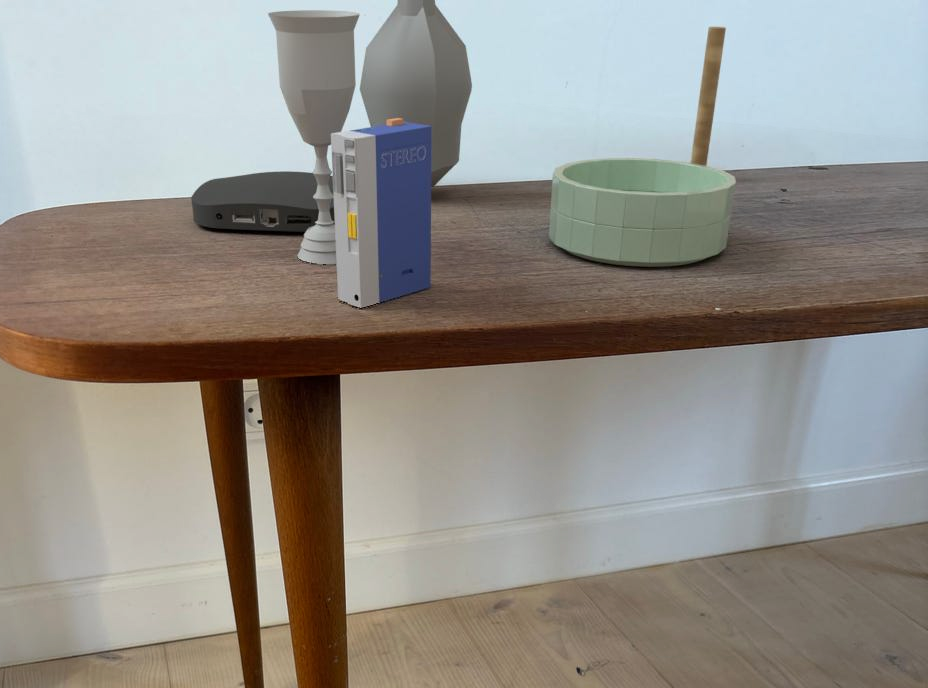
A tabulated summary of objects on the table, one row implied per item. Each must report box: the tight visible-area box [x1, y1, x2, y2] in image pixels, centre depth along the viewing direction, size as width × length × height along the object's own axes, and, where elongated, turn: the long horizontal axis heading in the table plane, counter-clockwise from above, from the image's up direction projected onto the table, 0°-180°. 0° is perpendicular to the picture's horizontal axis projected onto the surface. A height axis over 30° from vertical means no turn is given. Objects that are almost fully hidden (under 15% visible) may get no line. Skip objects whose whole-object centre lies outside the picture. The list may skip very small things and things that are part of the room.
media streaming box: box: [190, 170, 335, 233], centre depth 101 cm, size 15×15×3 cm
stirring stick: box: [690, 26, 727, 166], centre depth 115 cm, size 4×4×15 cm
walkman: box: [330, 118, 432, 308], centre depth 78 cm, size 8×3×12 cm, turn 138°
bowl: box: [548, 157, 737, 268], centre depth 93 cm, size 16×16×6 cm
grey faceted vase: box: [359, 0, 473, 188], centre depth 102 cm, size 11×11×30 cm
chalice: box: [267, 9, 361, 265], centre depth 85 cm, size 7×7×18 cm
